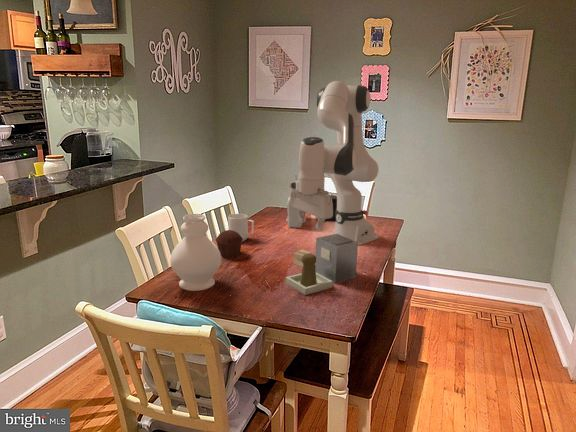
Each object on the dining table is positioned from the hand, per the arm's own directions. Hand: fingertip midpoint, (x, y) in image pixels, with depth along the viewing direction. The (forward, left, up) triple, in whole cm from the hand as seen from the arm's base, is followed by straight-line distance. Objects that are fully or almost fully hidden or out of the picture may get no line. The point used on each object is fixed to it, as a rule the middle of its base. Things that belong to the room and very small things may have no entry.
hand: (310, 225), depth 165 cm
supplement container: (-61, -64, -23) cm, 91 cm away
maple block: (-10, -18, -23) cm, 31 cm away
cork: (0, 0, -22) cm, 22 cm away
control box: (-14, -2, -22) cm, 26 cm away
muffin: (+9, -44, -23) cm, 50 cm away
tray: (0, 0, -22) cm, 22 cm away
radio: (-41, -67, -23) cm, 82 cm away
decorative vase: (+33, -23, -23) cm, 46 cm away
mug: (-4, -58, -23) cm, 63 cm away
